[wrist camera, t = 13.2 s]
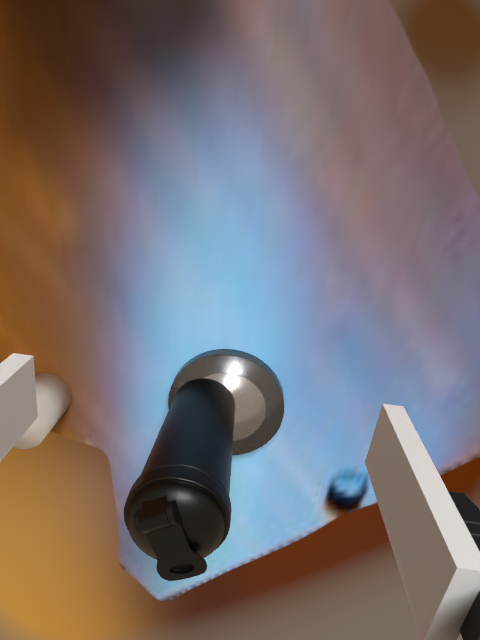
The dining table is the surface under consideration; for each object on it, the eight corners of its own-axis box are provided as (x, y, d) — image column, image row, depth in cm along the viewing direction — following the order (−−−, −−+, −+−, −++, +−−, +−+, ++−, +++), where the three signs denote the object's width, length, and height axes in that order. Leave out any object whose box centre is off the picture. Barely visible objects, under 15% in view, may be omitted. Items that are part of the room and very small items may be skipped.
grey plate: (174, 341, 58) (171, 348, 56) (292, 357, 57) (292, 364, 55) (168, 438, 63) (165, 447, 61) (274, 452, 63) (274, 462, 61)
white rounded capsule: (22, 369, 61) (-12, 399, 53) (71, 376, 61) (43, 407, 53) (26, 410, 63) (-6, 445, 56) (72, 417, 63) (46, 452, 56)
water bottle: (186, 444, 61) (144, 600, 40) (155, 385, 58) (90, 522, 36) (252, 424, 59) (244, 577, 38) (224, 362, 56) (198, 492, 35)
